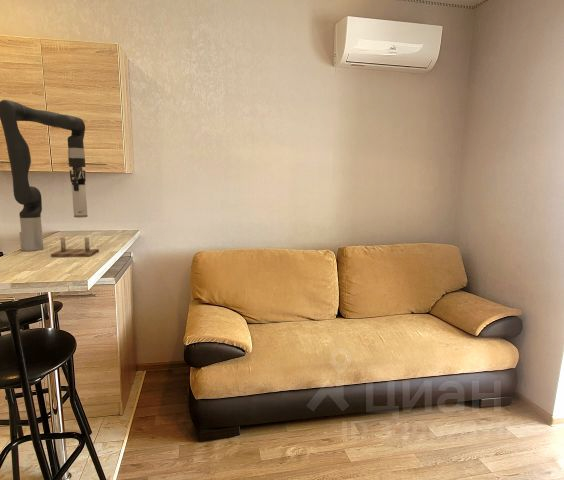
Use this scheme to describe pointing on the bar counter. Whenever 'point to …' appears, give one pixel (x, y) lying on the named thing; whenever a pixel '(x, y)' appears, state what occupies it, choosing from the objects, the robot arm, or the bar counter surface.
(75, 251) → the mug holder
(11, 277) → the bar counter surface
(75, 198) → the travel mug
